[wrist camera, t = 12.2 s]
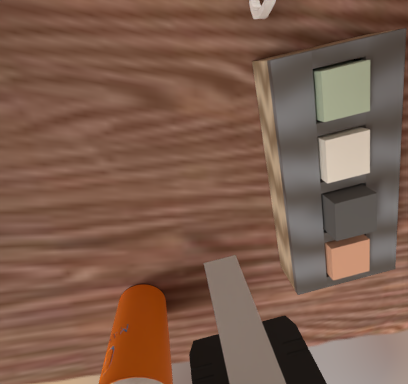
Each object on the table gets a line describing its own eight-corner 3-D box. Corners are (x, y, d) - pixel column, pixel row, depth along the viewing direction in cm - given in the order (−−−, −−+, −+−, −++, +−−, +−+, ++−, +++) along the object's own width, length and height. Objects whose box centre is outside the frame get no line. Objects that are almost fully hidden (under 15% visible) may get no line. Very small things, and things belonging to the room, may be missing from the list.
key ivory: (308, 133, 36) (325, 140, 32) (348, 123, 36) (370, 129, 33) (311, 172, 38) (327, 183, 34) (349, 162, 38) (369, 172, 35)
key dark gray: (317, 190, 38) (334, 204, 34) (356, 180, 38) (377, 193, 34) (320, 225, 40) (336, 241, 36) (356, 215, 40) (376, 230, 36)
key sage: (303, 71, 33) (321, 71, 30) (347, 60, 34) (370, 59, 30) (307, 116, 35) (324, 122, 32) (348, 106, 35) (370, 111, 32)
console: (252, 61, 36) (270, 60, 30) (365, 34, 36) (406, 28, 30) (280, 266, 48) (297, 294, 42) (366, 243, 48) (395, 268, 42)
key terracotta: (316, 233, 42) (331, 249, 38) (351, 224, 42) (369, 239, 38) (318, 262, 44) (333, 280, 40) (352, 253, 44) (369, 270, 40)
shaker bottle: (175, 280, 46) (185, 422, 28) (167, 325, 49) (171, 480, 31) (114, 276, 44) (82, 424, 26) (110, 323, 48) (78, 485, 29)
